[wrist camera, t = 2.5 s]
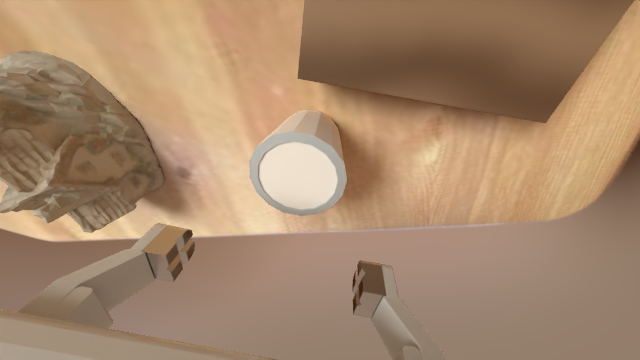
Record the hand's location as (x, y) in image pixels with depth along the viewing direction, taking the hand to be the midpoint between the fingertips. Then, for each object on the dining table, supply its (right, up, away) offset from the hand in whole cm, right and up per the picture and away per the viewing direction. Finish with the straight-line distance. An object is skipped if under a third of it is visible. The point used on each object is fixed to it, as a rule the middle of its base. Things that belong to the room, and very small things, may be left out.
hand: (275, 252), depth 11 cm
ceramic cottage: (-23, +8, +13) cm, 28 cm away
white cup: (+1, +7, +11) cm, 13 cm away
